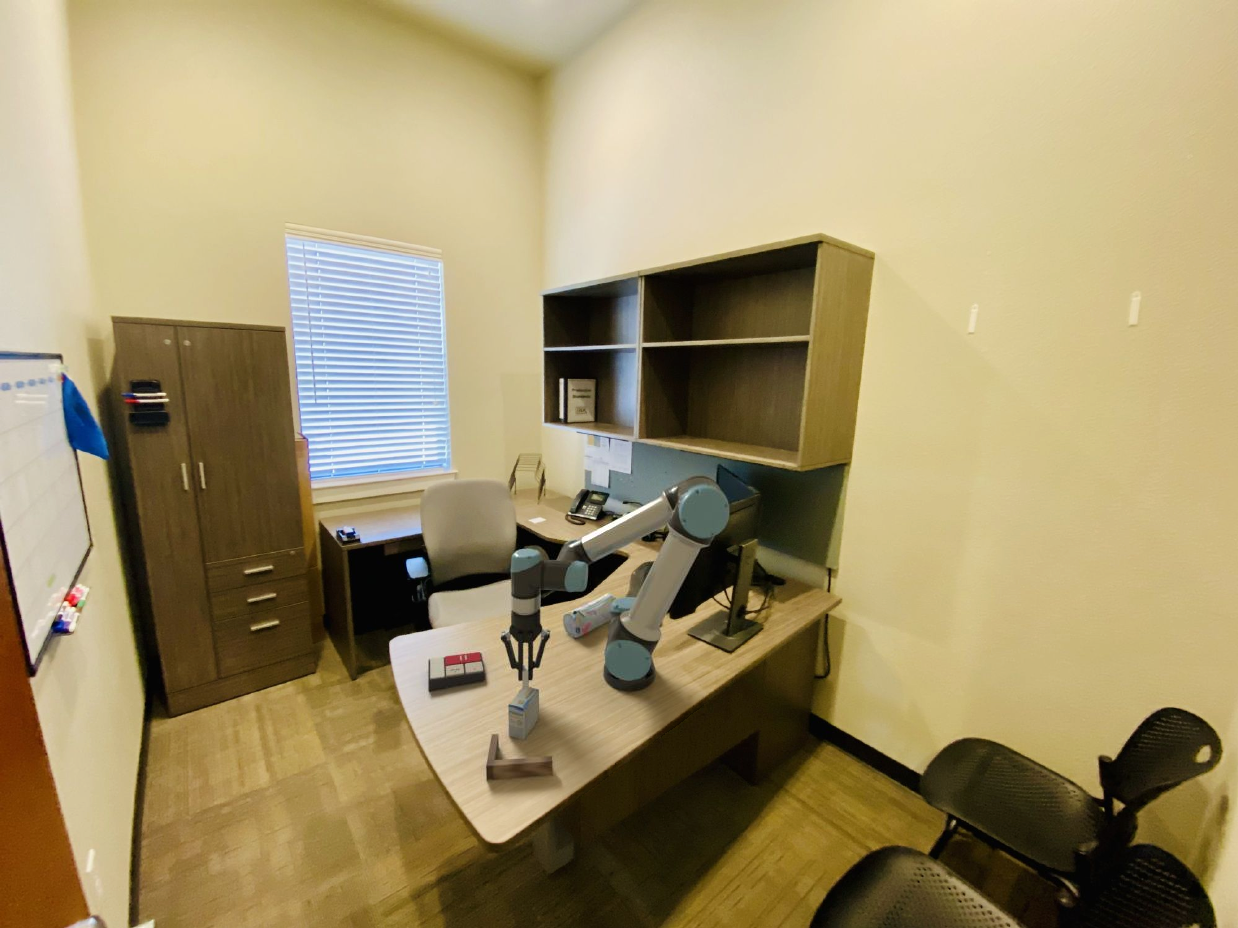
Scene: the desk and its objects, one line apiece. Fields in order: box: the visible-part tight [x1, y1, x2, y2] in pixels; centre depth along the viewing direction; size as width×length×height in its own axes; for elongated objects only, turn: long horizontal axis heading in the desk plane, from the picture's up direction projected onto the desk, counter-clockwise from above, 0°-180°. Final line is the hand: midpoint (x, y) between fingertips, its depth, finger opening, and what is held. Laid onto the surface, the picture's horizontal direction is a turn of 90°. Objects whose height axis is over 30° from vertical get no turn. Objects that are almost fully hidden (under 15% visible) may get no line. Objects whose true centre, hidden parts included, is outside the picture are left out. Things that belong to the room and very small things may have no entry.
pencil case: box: [562, 593, 617, 639], centre depth 170 cm, size 21×9×10 cm, turn 138°
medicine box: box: [507, 686, 540, 740], centre depth 121 cm, size 8×4×9 cm, turn 163°
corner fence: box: [485, 733, 553, 781], centre depth 111 cm, size 14×10×4 cm
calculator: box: [427, 651, 486, 692], centre depth 142 cm, size 11×4×15 cm
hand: (525, 690), depth 132 cm, fingers closed
